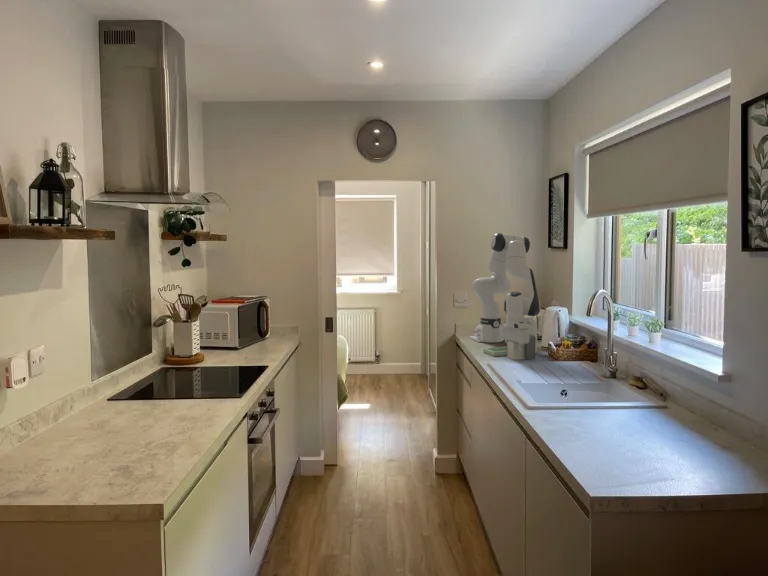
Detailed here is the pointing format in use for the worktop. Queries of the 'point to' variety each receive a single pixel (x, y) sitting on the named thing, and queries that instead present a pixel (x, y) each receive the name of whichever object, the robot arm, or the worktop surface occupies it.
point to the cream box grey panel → (516, 350)
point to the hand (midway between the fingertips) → (514, 349)
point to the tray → (496, 351)
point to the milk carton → (532, 329)
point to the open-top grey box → (530, 347)
